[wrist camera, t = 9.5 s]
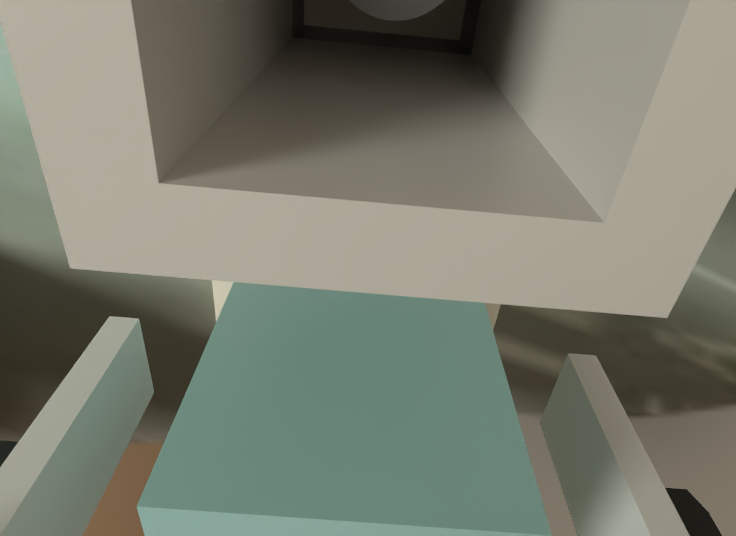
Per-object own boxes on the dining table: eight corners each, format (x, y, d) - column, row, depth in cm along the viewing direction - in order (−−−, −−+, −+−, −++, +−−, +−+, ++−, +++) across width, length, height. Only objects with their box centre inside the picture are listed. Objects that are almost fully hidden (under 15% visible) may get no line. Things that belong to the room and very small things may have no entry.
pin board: (180, -275, 11) (-89, -561, 5) (628, -223, 11) (939, -429, 5) (229, 325, 20) (160, 499, 14) (475, 345, 21) (516, 524, 14)
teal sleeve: (268, 201, 16) (136, 506, 7) (460, 218, 16) (551, 535, 7) (271, 347, 19) (184, 673, 10) (430, 359, 19) (470, 690, 11)
